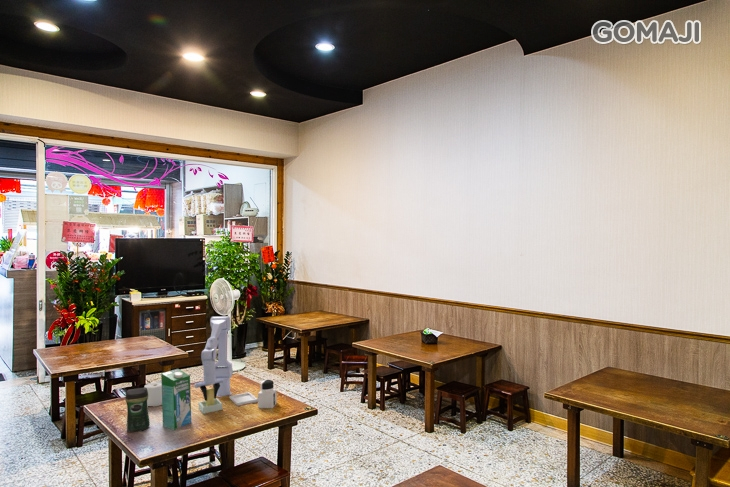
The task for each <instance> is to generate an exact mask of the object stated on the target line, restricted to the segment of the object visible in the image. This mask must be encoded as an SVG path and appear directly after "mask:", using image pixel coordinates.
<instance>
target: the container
mask: <svg viewBox="0 0 730 487" xmlns="http://www.w3.org/2000/svg"><path fill="white" fill-rule="evenodd" d="M274 386H275V385H274V381H273V380H271V379H264V380H262V381H260V391H259V392H258V393H257V399H258V402H257V407H258V409H273V408H275V406H276V405H277V402H278V398H277V396H278V394H277V391H278V390H277V388H275V387H274Z"/></svg>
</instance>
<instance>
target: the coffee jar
mask: <svg viewBox="0 0 730 487" xmlns="http://www.w3.org/2000/svg"><path fill="white" fill-rule="evenodd" d="M147 400H148V390H147V388H144V387H138V388H133V389H128V390H127V391H126V393H125V403H126V408H127V413H126V431H127V432H129V431H134V432H138V431H139V432H140V431H143V430H147V429H148V428H149V427H150V424H151V423H150V422H151V421H150V415H149V410H148V406H147Z"/></svg>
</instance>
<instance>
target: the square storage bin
mask: <svg viewBox="0 0 730 487" xmlns="http://www.w3.org/2000/svg"><path fill="white" fill-rule="evenodd" d="M197 403H198V409H199V411H200V412H201V413H202V414H208V413H213V412H214V413H215V412H218V411H222V410H223V409H224V408H223V402H221V400H220V399H219V397H218V398H217V397H216V399H214V403H215V405H211V406H206V401H205V400H202V401H198V402H197Z"/></svg>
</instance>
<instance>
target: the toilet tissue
mask: <svg viewBox="0 0 730 487" xmlns="http://www.w3.org/2000/svg"><path fill="white" fill-rule="evenodd" d="M143 388H147V390H148V400H147V407H148V406H153V407H159V406H161V405H162V379H161V380H157V381H152V382H149V383H146V384H145V385H144V387H143Z"/></svg>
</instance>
